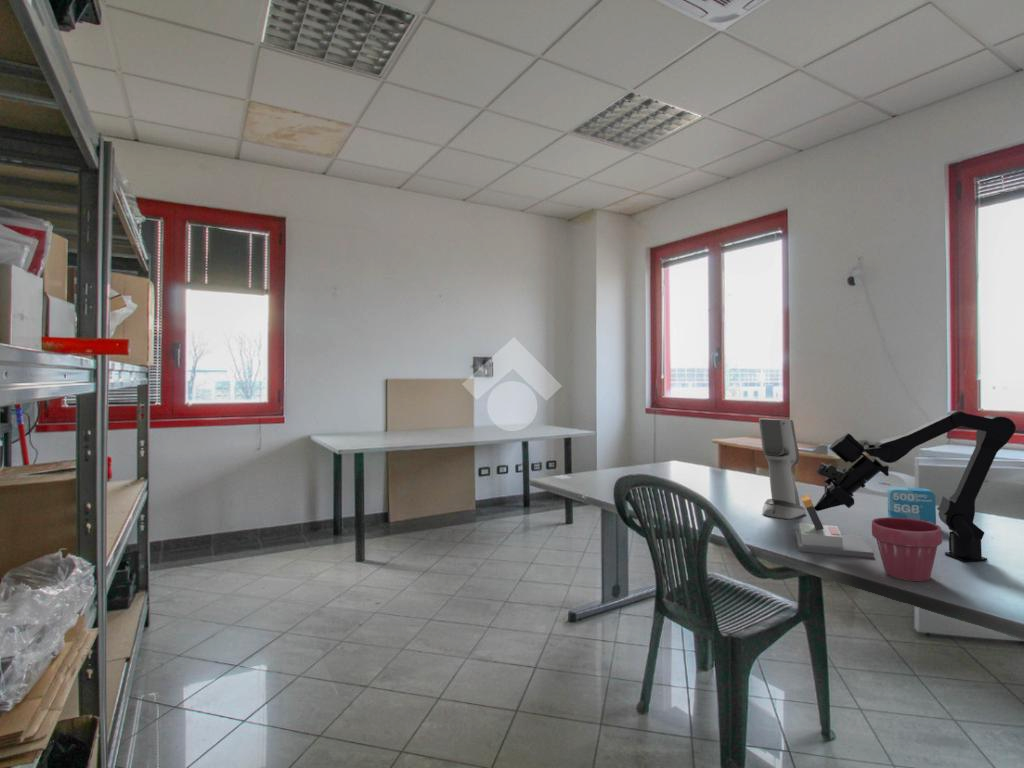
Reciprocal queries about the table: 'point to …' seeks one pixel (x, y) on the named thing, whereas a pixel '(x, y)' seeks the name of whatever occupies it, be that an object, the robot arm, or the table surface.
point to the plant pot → (907, 546)
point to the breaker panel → (848, 546)
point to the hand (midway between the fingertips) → (815, 509)
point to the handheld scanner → (781, 468)
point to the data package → (912, 503)
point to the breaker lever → (812, 512)
